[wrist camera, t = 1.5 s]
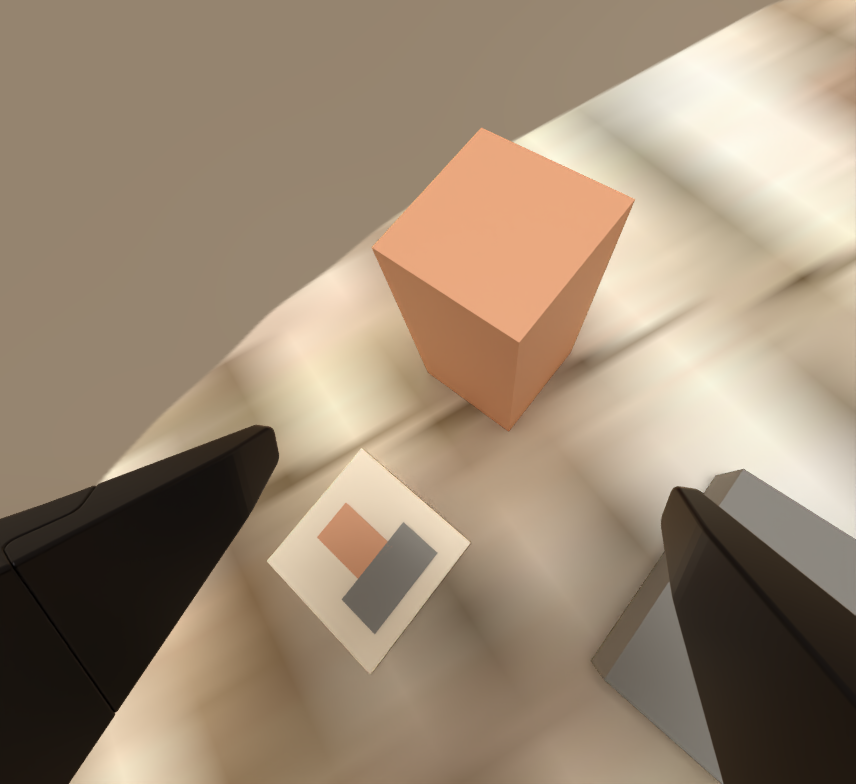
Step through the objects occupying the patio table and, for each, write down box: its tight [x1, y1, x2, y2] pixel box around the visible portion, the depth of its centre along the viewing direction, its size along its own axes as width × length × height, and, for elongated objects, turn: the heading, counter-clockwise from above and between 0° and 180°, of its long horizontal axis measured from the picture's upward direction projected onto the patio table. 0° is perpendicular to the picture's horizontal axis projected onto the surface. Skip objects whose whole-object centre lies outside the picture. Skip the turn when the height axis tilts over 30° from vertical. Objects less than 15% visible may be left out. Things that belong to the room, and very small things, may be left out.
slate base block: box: [591, 469, 856, 784], centre depth 18 cm, size 11×11×3 cm
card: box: [267, 448, 471, 674], centre depth 22 cm, size 8×8×1 cm
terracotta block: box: [372, 128, 635, 431], centre depth 19 cm, size 6×6×12 cm
